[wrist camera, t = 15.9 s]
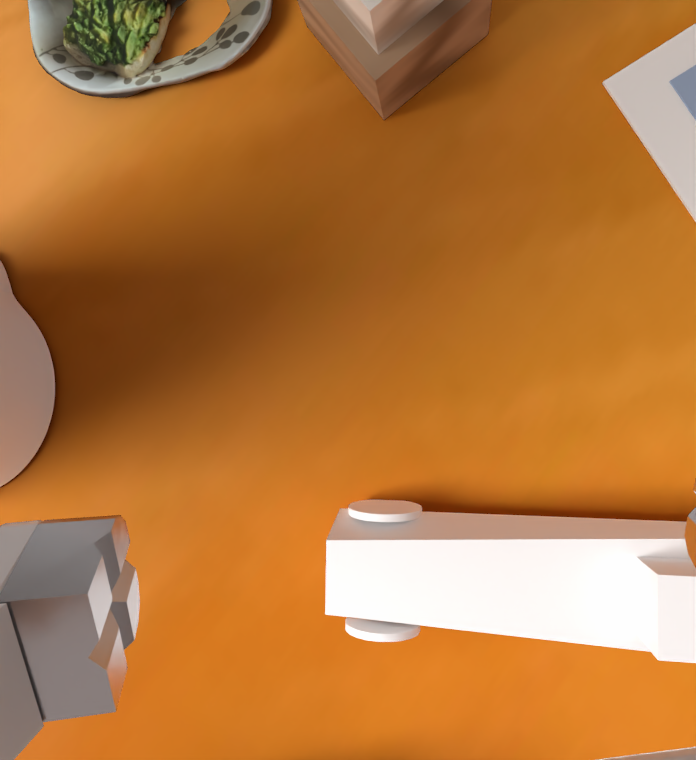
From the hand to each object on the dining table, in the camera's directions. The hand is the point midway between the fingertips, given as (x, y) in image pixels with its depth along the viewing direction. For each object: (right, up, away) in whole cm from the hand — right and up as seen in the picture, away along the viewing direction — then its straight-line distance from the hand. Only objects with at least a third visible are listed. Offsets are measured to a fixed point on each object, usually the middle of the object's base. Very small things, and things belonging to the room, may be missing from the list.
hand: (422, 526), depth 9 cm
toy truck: (+11, -9, +29) cm, 32 cm away
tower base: (+2, +24, +31) cm, 39 cm away
